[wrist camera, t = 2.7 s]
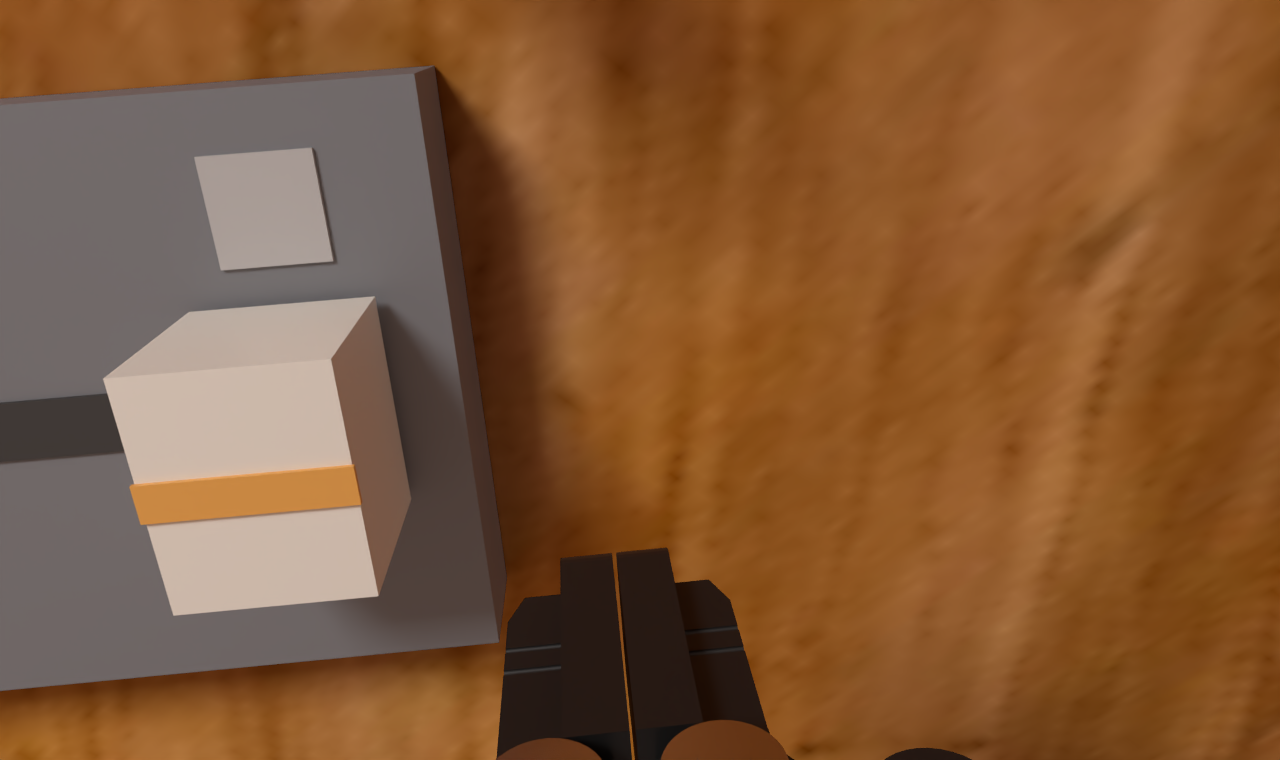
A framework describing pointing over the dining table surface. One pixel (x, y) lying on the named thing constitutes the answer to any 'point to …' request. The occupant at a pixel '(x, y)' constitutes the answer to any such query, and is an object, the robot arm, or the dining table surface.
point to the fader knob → (265, 454)
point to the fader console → (210, 280)
